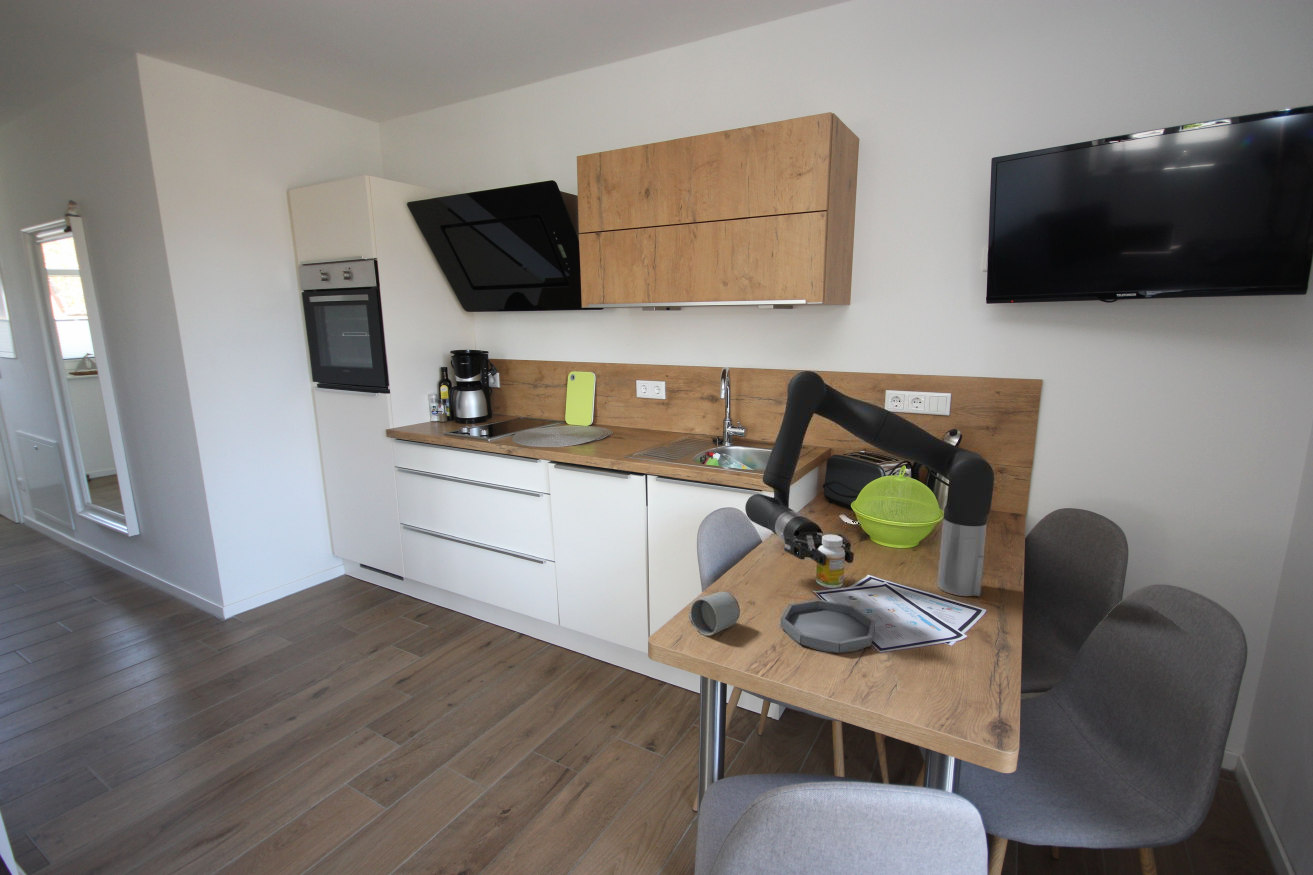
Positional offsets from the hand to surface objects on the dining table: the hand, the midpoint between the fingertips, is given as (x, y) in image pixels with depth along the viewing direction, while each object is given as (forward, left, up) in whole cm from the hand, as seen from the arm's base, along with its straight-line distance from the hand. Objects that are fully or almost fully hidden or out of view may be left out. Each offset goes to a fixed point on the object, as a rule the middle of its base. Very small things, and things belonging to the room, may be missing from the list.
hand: (838, 559), depth 120 cm
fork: (+1, -77, -17) cm, 79 cm away
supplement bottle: (+2, -2, -6) cm, 7 cm away
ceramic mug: (+24, +7, -17) cm, 30 cm away
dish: (+2, -2, -16) cm, 17 cm away
